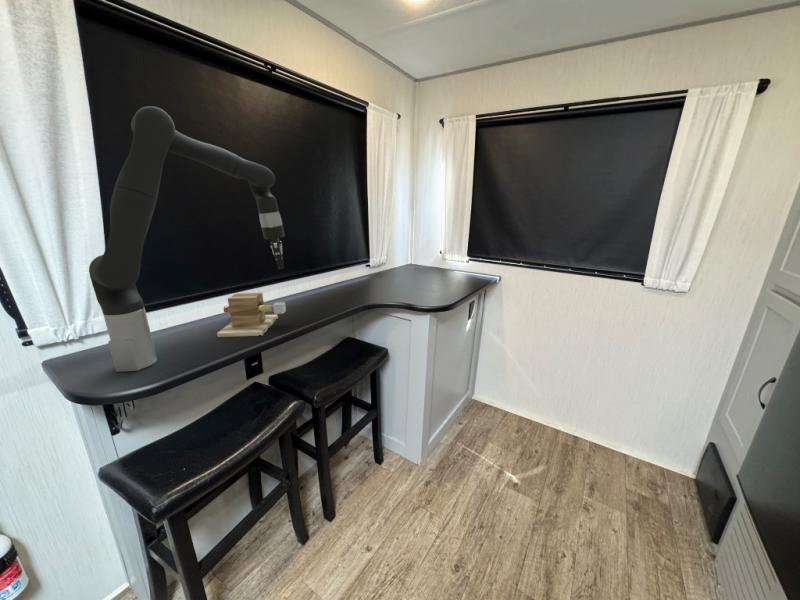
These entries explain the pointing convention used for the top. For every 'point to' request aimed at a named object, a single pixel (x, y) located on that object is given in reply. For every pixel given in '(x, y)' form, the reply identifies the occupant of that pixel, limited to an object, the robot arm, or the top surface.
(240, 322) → the block
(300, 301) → the top surface
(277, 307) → the bolt
